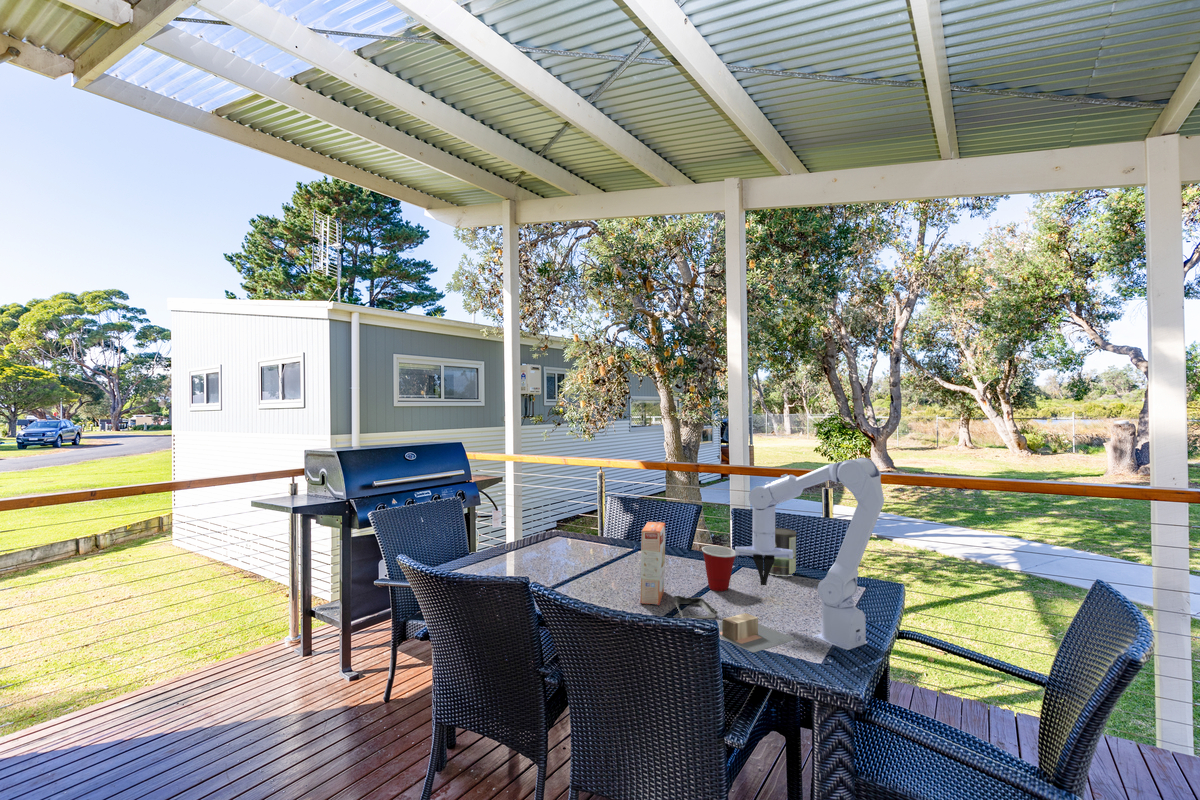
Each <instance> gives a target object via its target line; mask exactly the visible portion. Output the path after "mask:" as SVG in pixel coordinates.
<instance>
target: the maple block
mask: <svg viewBox="0 0 1200 800" xmlns="http://www.w3.org/2000/svg"><path fill="white" fill-rule="evenodd" d="M721 622H722V636H724V637H727V638H729V639H731V640H733V641H737V640H740V639H743V638H747V637H750V636H754V635H757V634H758V624H759V617H758V616H755V615H752V614H749V613H747V612H744V613H740V614H737V615H732V616H729V617H724V618H722V621H721Z"/></svg>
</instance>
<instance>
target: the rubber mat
mask: <svg viewBox="0 0 1200 800" xmlns="http://www.w3.org/2000/svg"><path fill="white" fill-rule="evenodd" d="M718 623H719V625H720V637H721V638H720V639H722V640H724V641H727V643H731V644H733V645H735V646H737V647H739V648H741V649H743V650H746V651H748V652H749V653H759V652H761V651H763V650H766V649H767V650H768V649H769V648H770V649H771V648H773V647H776V646H779V645H783V644H786V643H789V642H793V641H796V640H797V638H795V637H793V636H791V635H788V634H785V633H783V632H780V631H777V630H775V629H773V628H770V627H768V626H765V625H762V624H760V623H758V634H757V635H754V636H750V637H747V638H743V639H740V640H737V641H733V640H731V639H729V638H727V637H724V636H722V621H720V622H718Z"/></svg>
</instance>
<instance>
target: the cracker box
mask: <svg viewBox="0 0 1200 800" xmlns="http://www.w3.org/2000/svg"><path fill="white" fill-rule="evenodd" d="M640 542H641V544H640V595H639V596H640V597H639V599H640V604H641V603H642V604H641V605H650V604H657V605H656V606H660V604H661V601H662V598H663V595H664V593H665V569H666V568H665V567H666V565H665V564H666V522H662V521H647V522H646V524H645V525H644V527H643V528H642V529H641V540H640Z"/></svg>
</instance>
